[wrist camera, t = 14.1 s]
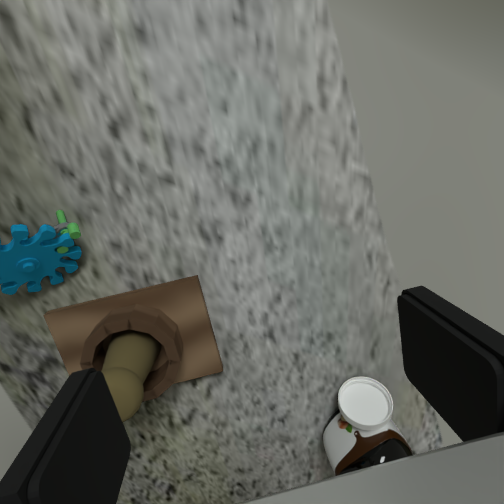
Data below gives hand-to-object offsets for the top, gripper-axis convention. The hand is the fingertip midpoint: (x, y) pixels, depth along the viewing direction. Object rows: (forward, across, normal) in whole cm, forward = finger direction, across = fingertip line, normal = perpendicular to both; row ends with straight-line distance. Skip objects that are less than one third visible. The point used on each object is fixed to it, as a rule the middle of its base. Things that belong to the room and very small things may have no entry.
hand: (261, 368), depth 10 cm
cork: (+29, +14, +13) cm, 35 cm away
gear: (+31, +20, -1) cm, 37 cm away
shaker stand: (+30, +14, +13) cm, 36 cm away
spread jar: (+31, -11, +32) cm, 46 cm away
